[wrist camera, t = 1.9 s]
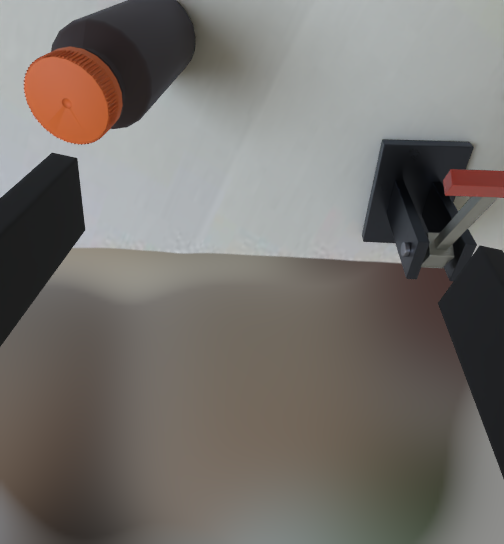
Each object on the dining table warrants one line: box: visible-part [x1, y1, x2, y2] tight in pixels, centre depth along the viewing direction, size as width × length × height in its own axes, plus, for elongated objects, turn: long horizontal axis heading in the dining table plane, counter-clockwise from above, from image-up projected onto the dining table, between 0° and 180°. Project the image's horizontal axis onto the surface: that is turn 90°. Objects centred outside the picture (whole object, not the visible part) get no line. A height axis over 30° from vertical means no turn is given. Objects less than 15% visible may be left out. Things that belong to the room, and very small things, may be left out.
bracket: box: [362, 140, 477, 281], centre depth 41 cm, size 12×9×13 cm
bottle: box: [23, 0, 195, 145], centre depth 30 cm, size 7×7×20 cm
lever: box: [421, 169, 504, 268], centre depth 32 cm, size 13×6×2 cm, turn 1°
